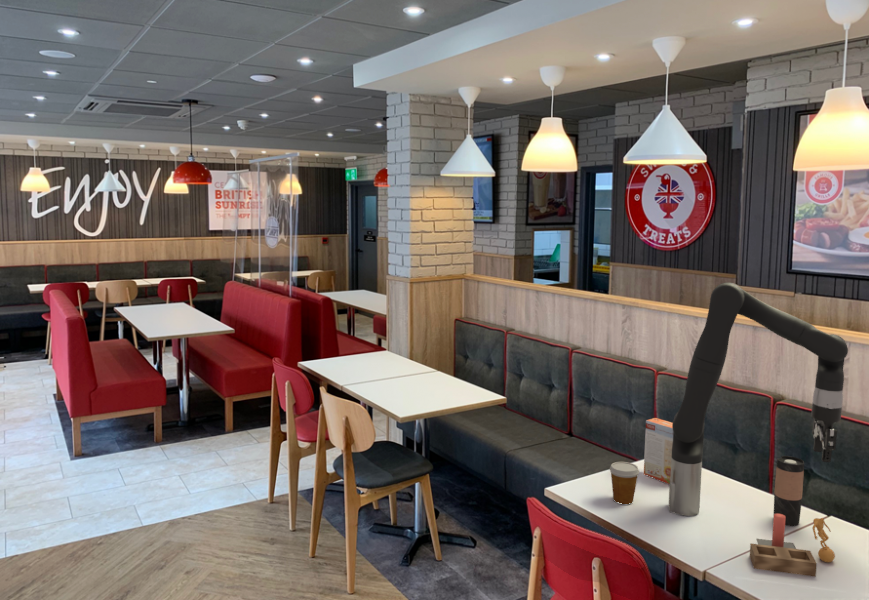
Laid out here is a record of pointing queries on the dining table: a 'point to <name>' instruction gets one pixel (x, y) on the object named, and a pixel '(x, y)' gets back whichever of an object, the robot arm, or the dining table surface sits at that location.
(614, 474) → the disposable coffee cup
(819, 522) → the figurine
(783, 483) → the travel mug
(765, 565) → the hole block
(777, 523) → the peg
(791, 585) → the dining table surface
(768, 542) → the mat
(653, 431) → the cracker box
